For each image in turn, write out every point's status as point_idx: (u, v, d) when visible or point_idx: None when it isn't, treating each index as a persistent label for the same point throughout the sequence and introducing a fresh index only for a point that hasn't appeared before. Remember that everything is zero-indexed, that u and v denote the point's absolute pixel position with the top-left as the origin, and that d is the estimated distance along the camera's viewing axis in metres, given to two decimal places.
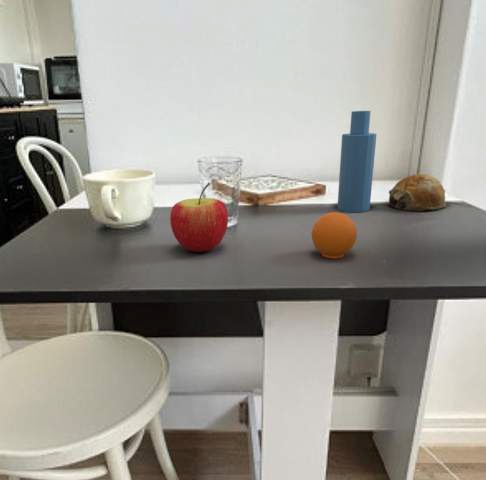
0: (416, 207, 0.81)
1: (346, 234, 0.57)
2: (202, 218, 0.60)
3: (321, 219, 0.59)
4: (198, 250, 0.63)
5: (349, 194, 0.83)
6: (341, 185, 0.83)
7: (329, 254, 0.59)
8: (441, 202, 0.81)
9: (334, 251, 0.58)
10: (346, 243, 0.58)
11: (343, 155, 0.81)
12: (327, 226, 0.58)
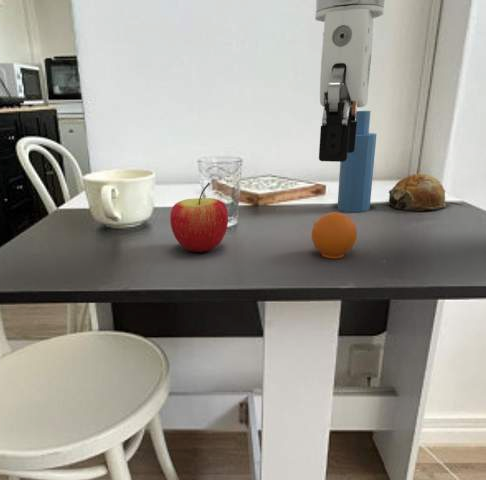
0: (416, 207, 0.81)
1: (346, 234, 0.57)
2: (202, 218, 0.60)
3: (321, 219, 0.59)
4: (198, 250, 0.63)
5: (349, 194, 0.83)
6: (341, 185, 0.83)
7: (329, 254, 0.59)
8: (441, 202, 0.81)
9: (334, 251, 0.58)
10: (346, 243, 0.58)
11: None
12: (327, 226, 0.58)
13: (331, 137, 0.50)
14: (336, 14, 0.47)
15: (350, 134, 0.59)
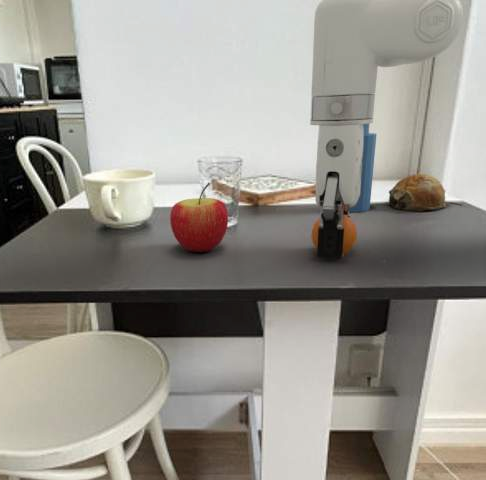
0: (416, 207, 0.81)
1: (345, 234, 0.57)
2: (202, 218, 0.60)
3: None
4: (198, 250, 0.63)
5: None
6: None
7: None
8: (441, 202, 0.81)
9: None
10: (346, 243, 0.58)
11: None
12: None
13: (328, 239, 0.56)
14: (329, 128, 0.51)
15: None
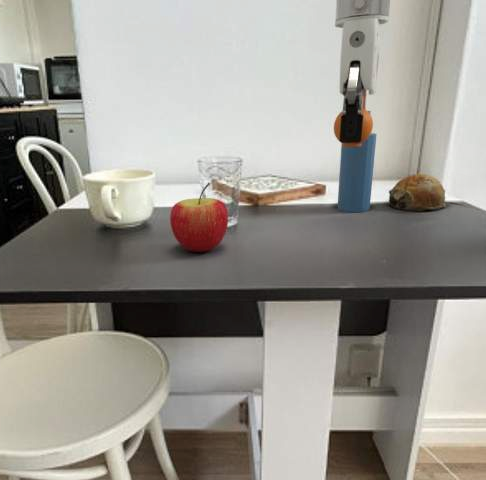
0: (416, 207, 0.81)
1: (364, 121, 0.67)
2: (202, 218, 0.60)
3: None
4: (198, 250, 0.63)
5: (349, 194, 0.83)
6: (341, 185, 0.83)
7: None
8: (441, 202, 0.81)
9: None
10: (364, 130, 0.68)
11: (343, 155, 0.81)
12: None
13: (350, 124, 0.66)
14: (352, 22, 0.62)
15: None
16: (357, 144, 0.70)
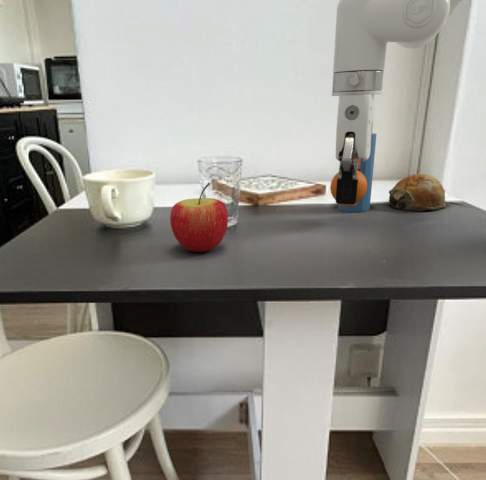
0: (416, 207, 0.81)
1: (358, 184, 0.71)
2: (202, 218, 0.60)
3: (338, 173, 0.73)
4: (198, 250, 0.63)
5: None
6: None
7: None
8: (441, 202, 0.81)
9: None
10: (359, 192, 0.72)
11: None
12: None
13: (345, 187, 0.70)
14: (347, 97, 0.66)
15: None
16: (352, 204, 0.74)
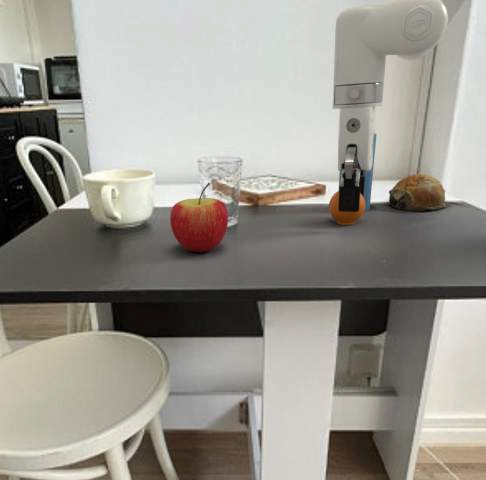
0: (416, 207, 0.81)
1: None
2: (202, 218, 0.60)
3: (337, 193, 0.74)
4: (198, 250, 0.63)
5: None
6: None
7: (343, 221, 0.75)
8: (441, 202, 0.81)
9: (347, 218, 0.74)
10: (357, 212, 0.73)
11: None
12: None
13: (347, 195, 0.69)
14: (348, 110, 0.66)
15: (360, 186, 0.78)
16: (351, 223, 0.75)
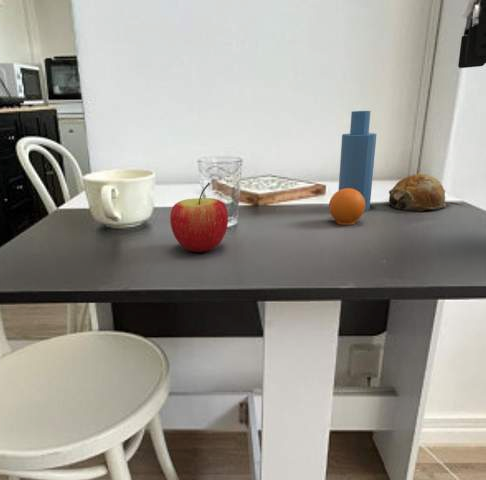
0: (416, 207, 0.81)
1: (356, 204, 0.73)
2: (202, 218, 0.60)
3: (337, 193, 0.74)
4: (198, 250, 0.63)
5: None
6: (341, 185, 0.83)
7: (343, 221, 0.75)
8: (441, 202, 0.81)
9: (347, 218, 0.74)
10: (357, 212, 0.73)
11: (343, 155, 0.81)
12: (342, 198, 0.73)
13: (483, 36, 0.51)
14: None
15: None
16: (351, 223, 0.75)
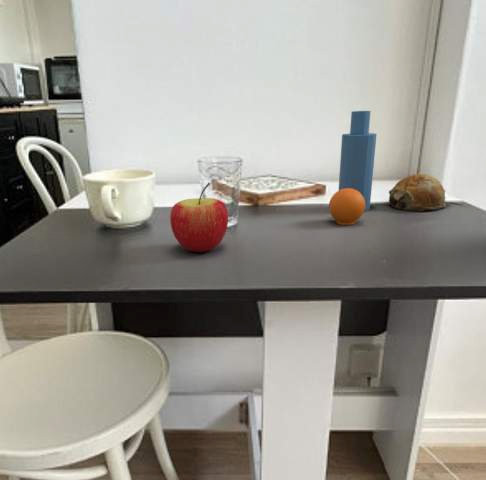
0: (416, 207, 0.81)
1: (356, 204, 0.73)
2: (202, 218, 0.60)
3: (337, 193, 0.74)
4: (198, 250, 0.63)
5: None
6: (341, 185, 0.83)
7: (343, 221, 0.75)
8: (441, 202, 0.81)
9: (347, 218, 0.74)
10: (357, 212, 0.73)
11: (343, 155, 0.81)
12: (342, 198, 0.73)
13: None
14: None
15: None
16: (351, 223, 0.75)
